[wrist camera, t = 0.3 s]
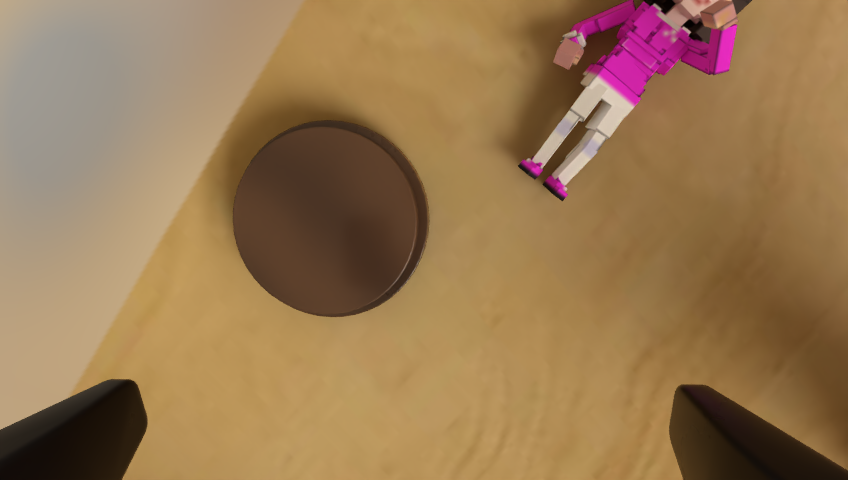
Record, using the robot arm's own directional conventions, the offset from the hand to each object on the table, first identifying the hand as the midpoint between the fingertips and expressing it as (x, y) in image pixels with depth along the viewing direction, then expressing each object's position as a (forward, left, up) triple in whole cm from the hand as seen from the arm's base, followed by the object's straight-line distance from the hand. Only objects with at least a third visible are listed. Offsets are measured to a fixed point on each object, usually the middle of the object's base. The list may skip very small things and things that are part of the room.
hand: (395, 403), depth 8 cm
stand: (-2, +5, -15) cm, 16 cm away
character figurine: (+11, -1, -16) cm, 19 cm away
